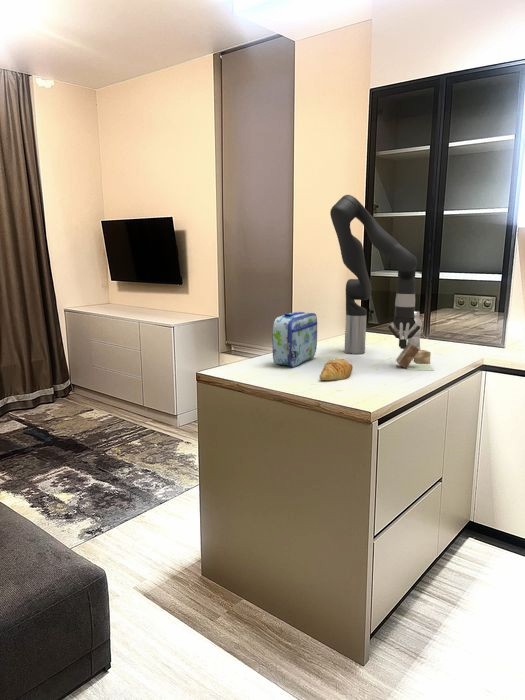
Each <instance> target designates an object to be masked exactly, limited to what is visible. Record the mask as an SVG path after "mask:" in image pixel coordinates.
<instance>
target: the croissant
mask: <svg viewBox="0 0 525 700" xmlns="http://www.w3.org/2000/svg"><path fill="white" fill-rule="evenodd" d="M353 369H354V368H353V365H352V364H351V363H349V362H348V361H347V360H345V359H344V358H335V359H331V360H329V361H327V362H326V363H325V364H324V366H323V368H322V370H321V372H320V374H319V379H320V380H321V381H338V380H339V381H340V380H345V379H347V378H348V377H350V375H351V373H352V372H353Z"/></svg>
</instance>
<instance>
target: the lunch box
mask: <svg viewBox="0 0 525 700" xmlns="http://www.w3.org/2000/svg"><path fill="white" fill-rule="evenodd" d="M271 334H272V336H271V337H272V338H271V339H272V360H273V364H274V365H283V366H288V367H291V368H296V367H298V366H299V365H301V364H303V363H304V362H306V361H309V360H310V359H312V358H314V357H315V355H316V353H317V345H318V317H317V314H316V313H315V312H311V313H310V312H305V311H296V312H290V313H284V314H283V315H280V316H277V317H276V318H275V320H274V321H273V324H272V333H271Z"/></svg>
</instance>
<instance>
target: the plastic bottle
mask: <svg viewBox="0 0 525 700" xmlns="http://www.w3.org/2000/svg"><path fill="white" fill-rule="evenodd" d="M420 313H421V312H420V311H419V310H415V313H414V320H415V323H416V324H417V325H419V326H420V329H419V330H418V331H417V332H416V334H415V335H414V336H413V337H412V338H409V339H407V344H408V342H409V343H411V344H413V345H414V346H416V347H417V348H418V349H419V350H422V349H421V332H422V328H423V322H422V320H421V318H420V316H421V315H420ZM413 327H414V326H413ZM413 327H412V328H411V329H410V330H409V331H408V335H409V334H410V333H411V332H412V330H413V329H414V328H413Z"/></svg>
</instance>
